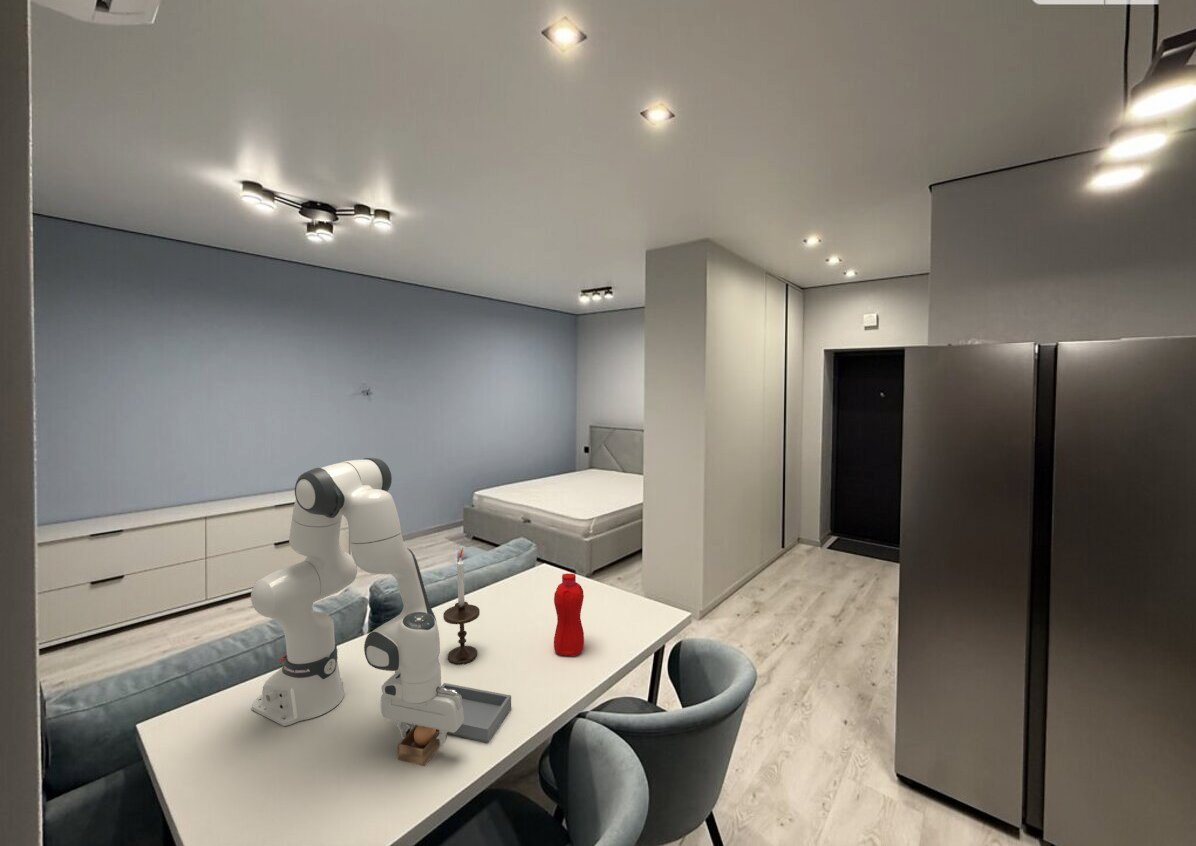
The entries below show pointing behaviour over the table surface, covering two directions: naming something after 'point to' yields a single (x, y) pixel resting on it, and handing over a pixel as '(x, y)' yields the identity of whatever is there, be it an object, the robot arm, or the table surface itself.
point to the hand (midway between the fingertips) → (423, 739)
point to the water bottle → (568, 617)
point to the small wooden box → (416, 749)
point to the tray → (480, 712)
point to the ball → (423, 735)
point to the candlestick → (461, 621)
